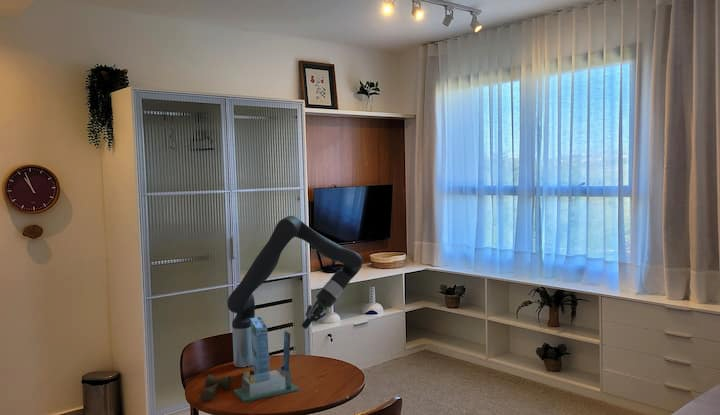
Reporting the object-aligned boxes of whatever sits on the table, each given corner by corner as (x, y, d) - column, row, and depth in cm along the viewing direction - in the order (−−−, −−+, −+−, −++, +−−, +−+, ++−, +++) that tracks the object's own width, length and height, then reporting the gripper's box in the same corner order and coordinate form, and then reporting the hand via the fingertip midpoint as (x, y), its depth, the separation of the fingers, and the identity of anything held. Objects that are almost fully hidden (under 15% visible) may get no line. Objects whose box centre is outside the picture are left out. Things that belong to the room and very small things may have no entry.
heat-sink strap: (284, 331, 224) (286, 331, 225) (282, 370, 224) (285, 370, 225) (288, 333, 221) (290, 333, 221) (286, 373, 221) (289, 373, 221)
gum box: (270, 383, 228) (267, 326, 227) (257, 384, 227) (255, 328, 226) (264, 368, 247) (261, 316, 246) (252, 370, 245) (249, 318, 244)
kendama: (193, 404, 210) (213, 383, 230) (218, 405, 209) (236, 384, 229) (193, 388, 210) (212, 369, 229) (218, 389, 209) (235, 370, 228)
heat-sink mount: (233, 392, 219) (232, 371, 219) (286, 380, 230) (285, 360, 230) (243, 402, 208) (242, 380, 208) (299, 390, 218) (298, 369, 218)
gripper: (317, 285, 236) (290, 318, 231) (330, 290, 224) (303, 325, 219) (328, 296, 239) (303, 329, 233) (343, 301, 227) (316, 336, 222)
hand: (303, 327), depth 226 cm, fingers closed
